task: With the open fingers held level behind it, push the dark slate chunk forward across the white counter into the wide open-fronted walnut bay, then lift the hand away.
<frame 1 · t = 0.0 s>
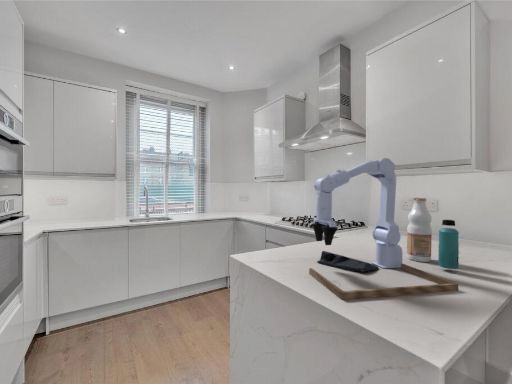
hand: (323, 242, 100), 10 cm above the counter, tool pointing down, fingers open, 7 cm apart
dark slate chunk: (346, 266, 106), on the counter
walnut bay: (377, 281, 87), on the counter
beverage bottle: (447, 271, 100), on the counter
fruit juice: (418, 259, 116), on the counter
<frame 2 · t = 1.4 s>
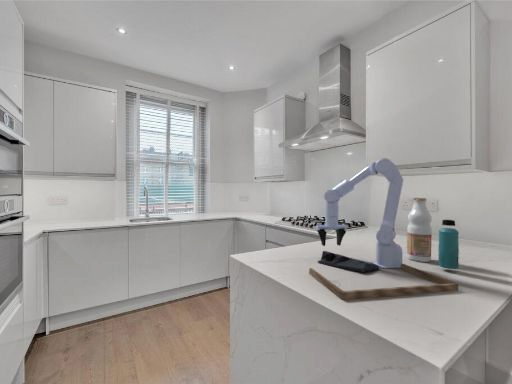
hand: (331, 245, 118), 5 cm above the counter, tool pointing down, fingers open, 7 cm apart
nothing on the counter moved.
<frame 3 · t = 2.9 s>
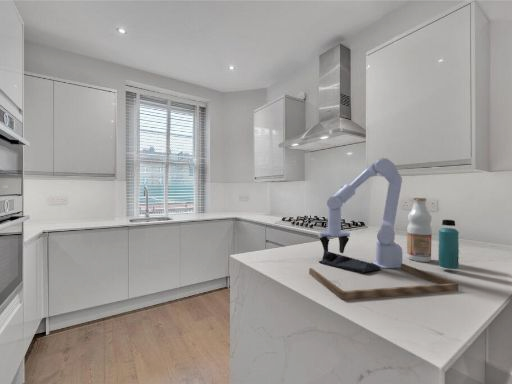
hand: (333, 253, 116), 2 cm above the counter, tool pointing down, fingers open, 7 cm apart
nothing on the counter moved.
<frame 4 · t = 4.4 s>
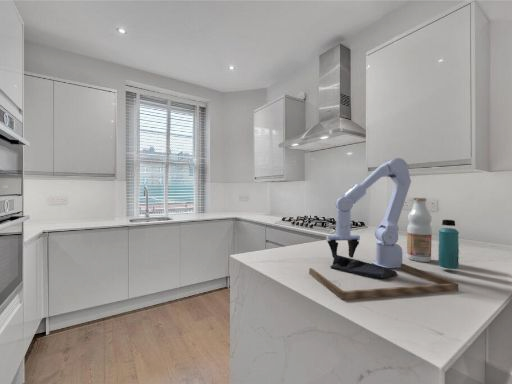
hand: (342, 257, 108), 2 cm above the counter, tool pointing down, fingers open, 7 cm apart
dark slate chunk: (362, 271, 99), on the counter
everything else where it was.
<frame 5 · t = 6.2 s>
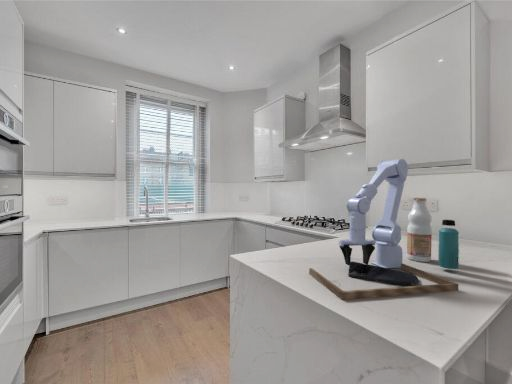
hand: (356, 264, 99), 2 cm above the counter, tool pointing down
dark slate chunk: (381, 278, 92), on the counter, touching gripper
everything else where it was.
when the fingers open (2 cm above the counter, at t = 6.2 s): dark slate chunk moves 3 cm, on the counter.
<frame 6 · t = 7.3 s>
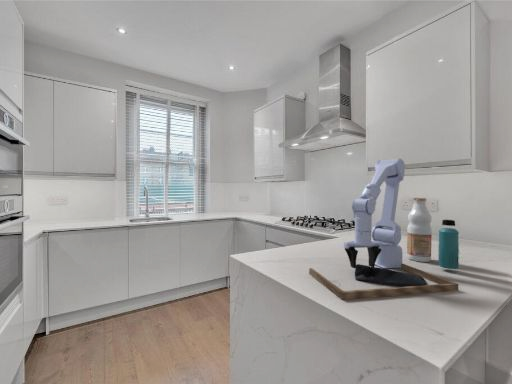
hand: (362, 266, 95), 2 cm above the counter, tool pointing down, fingers open, 7 cm apart
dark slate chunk: (388, 281, 89), on the counter
everything else where it was.
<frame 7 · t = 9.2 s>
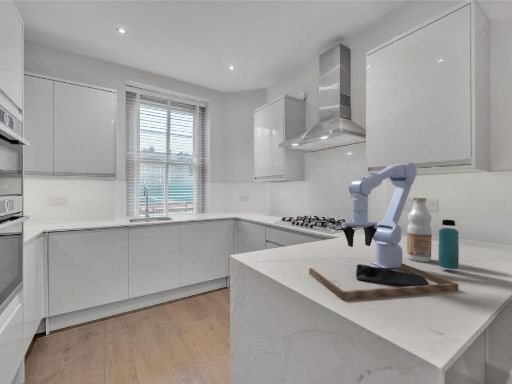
hand: (359, 245, 99), 9 cm above the counter, tool pointing down, fingers open, 7 cm apart
nothing on the counter moved.
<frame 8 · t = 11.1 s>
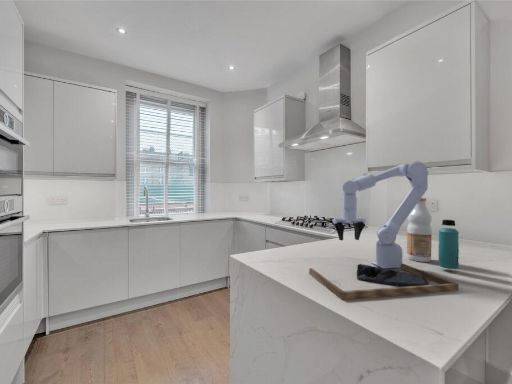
hand: (348, 239, 111), 9 cm above the counter, tool pointing down, fingers open, 7 cm apart
nothing on the counter moved.
at the end: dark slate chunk inside the target area (7.2 cm from its centre), on the counter; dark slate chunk moved 19.0 cm from its start; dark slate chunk tilted 0° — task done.
